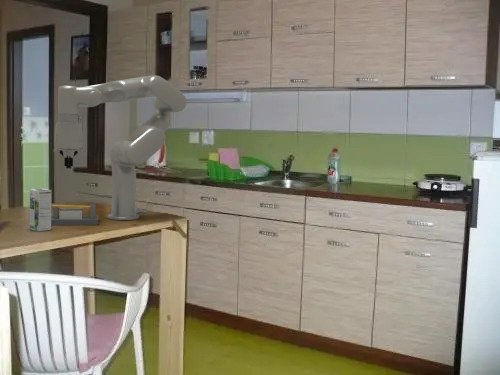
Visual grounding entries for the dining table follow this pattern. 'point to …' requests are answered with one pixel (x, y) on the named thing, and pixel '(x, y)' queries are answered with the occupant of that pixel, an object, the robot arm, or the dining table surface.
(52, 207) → the yellow long flat bar
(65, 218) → the base
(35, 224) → the syrup box
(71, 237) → the dining table surface
